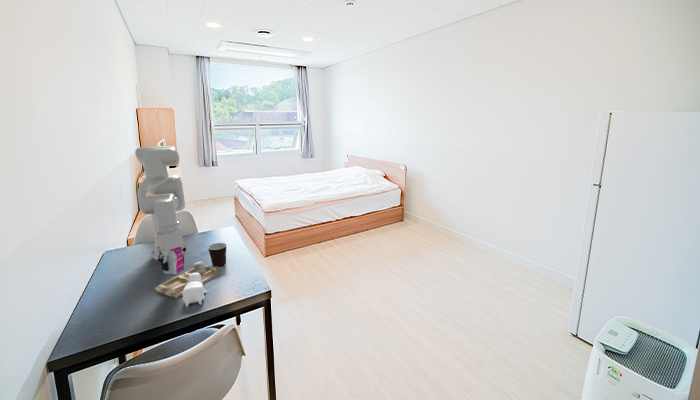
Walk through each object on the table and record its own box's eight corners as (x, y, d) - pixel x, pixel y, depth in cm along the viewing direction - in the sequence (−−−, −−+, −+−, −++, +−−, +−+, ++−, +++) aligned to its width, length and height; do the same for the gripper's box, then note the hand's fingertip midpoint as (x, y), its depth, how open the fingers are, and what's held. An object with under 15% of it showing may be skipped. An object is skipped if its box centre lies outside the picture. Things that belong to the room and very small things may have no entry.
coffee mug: (222, 268, 158) (219, 250, 155) (206, 267, 159) (204, 248, 157) (234, 258, 169) (233, 241, 166) (220, 257, 170) (218, 239, 168)
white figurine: (206, 308, 131) (207, 280, 142) (203, 295, 126) (204, 267, 137) (183, 312, 128) (186, 283, 139) (179, 299, 123) (182, 270, 134)
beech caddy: (154, 290, 138) (152, 277, 137) (199, 268, 158) (198, 256, 157) (176, 298, 132) (174, 285, 131) (219, 274, 152) (218, 262, 151)
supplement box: (175, 276, 135) (171, 251, 132) (163, 274, 136) (159, 249, 133) (185, 269, 140) (181, 245, 137) (173, 268, 141) (169, 244, 138)
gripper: (180, 220, 142) (185, 257, 146) (141, 233, 127) (148, 273, 131) (191, 223, 139) (196, 260, 143) (153, 236, 124) (160, 277, 128)
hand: (173, 266), depth 137 cm, fingers closed on supplement box, 6 cm apart
